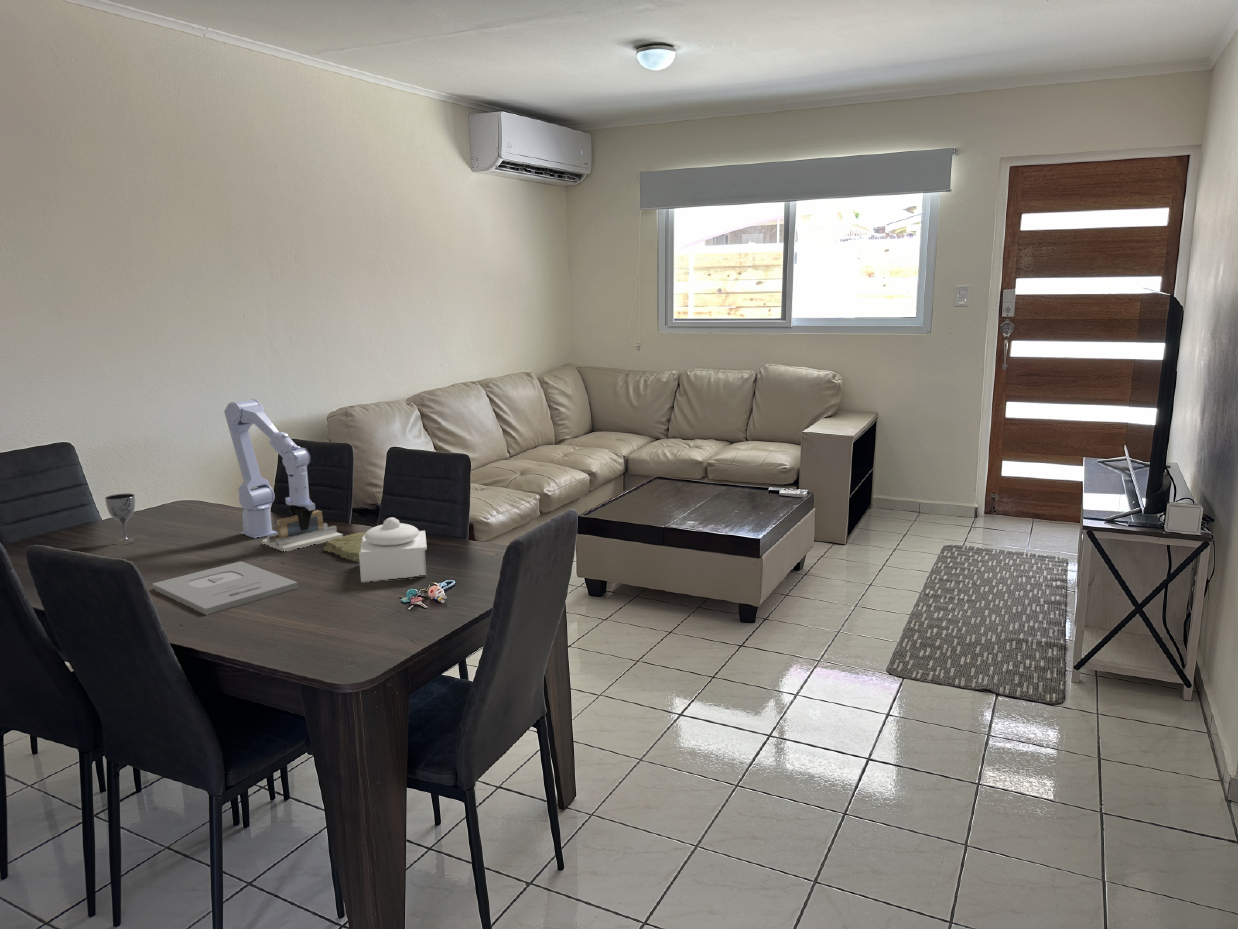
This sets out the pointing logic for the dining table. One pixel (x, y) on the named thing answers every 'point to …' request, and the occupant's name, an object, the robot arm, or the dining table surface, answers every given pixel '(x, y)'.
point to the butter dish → (392, 552)
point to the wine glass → (121, 509)
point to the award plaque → (224, 587)
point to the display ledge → (302, 538)
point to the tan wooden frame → (293, 526)
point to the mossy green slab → (346, 546)
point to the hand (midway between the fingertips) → (302, 528)
